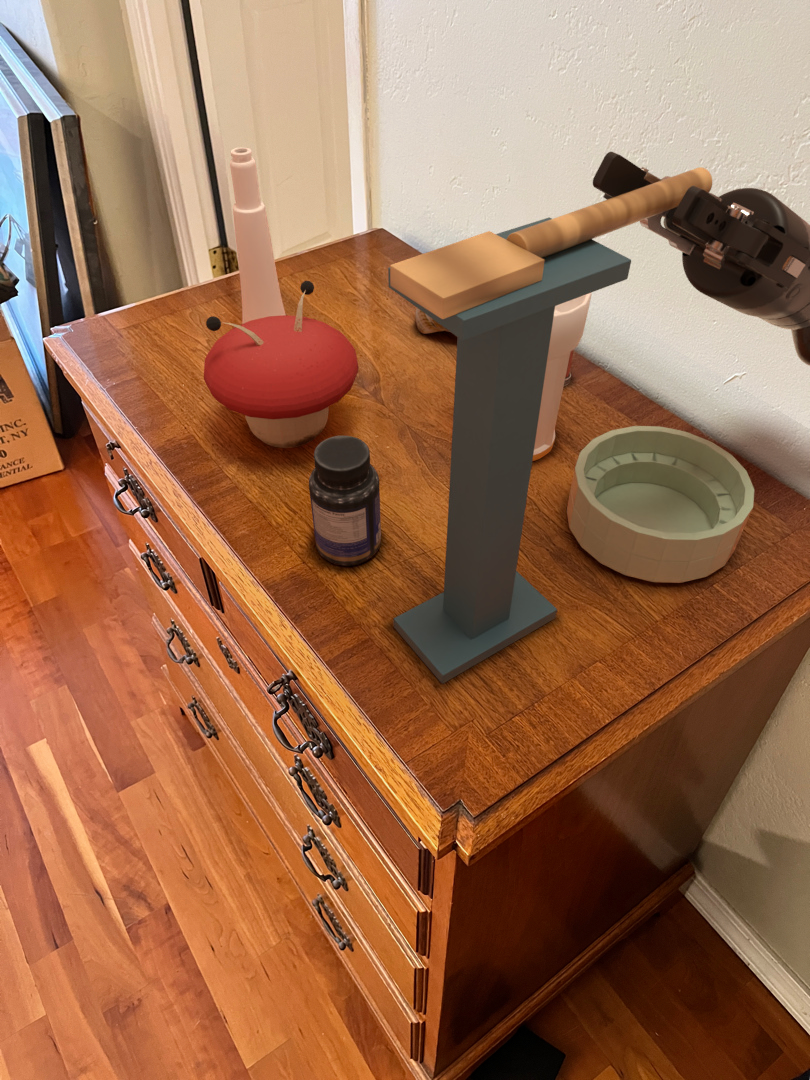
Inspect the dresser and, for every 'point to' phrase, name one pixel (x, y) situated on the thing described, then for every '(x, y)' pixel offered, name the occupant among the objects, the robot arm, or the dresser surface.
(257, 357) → the mushroom
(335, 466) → the pill bottle
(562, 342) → the cup
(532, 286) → the headphone stand
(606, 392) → the dresser surface
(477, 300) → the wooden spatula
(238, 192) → the cosmetic bottle
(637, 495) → the bowl
